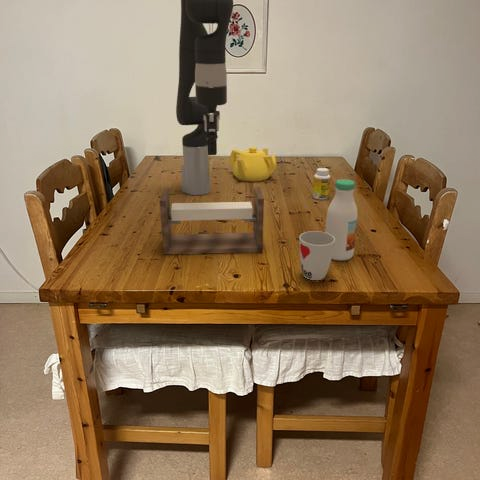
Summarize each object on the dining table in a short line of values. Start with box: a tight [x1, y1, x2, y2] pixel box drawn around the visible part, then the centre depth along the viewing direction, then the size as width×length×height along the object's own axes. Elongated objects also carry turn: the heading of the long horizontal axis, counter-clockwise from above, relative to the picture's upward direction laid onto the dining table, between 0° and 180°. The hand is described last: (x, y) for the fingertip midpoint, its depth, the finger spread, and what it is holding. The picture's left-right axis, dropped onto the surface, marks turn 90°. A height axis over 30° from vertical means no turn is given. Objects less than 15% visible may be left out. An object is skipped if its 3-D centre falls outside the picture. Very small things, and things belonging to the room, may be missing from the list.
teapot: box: [228, 146, 278, 183], centre depth 183 cm, size 17×17×12 cm
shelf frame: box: [159, 186, 265, 255], centre depth 123 cm, size 26×10×15 cm, turn 94°
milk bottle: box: [324, 178, 359, 261], centre depth 118 cm, size 8×8×20 cm
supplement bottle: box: [312, 167, 331, 201], centre depth 161 cm, size 6×6×10 cm
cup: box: [298, 230, 335, 281], centre depth 109 cm, size 8×8×10 cm
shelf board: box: [170, 201, 254, 222], centre depth 122 cm, size 21×5×3 cm, turn 94°
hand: (212, 150), depth 118 cm, fingers open, 8 cm apart
